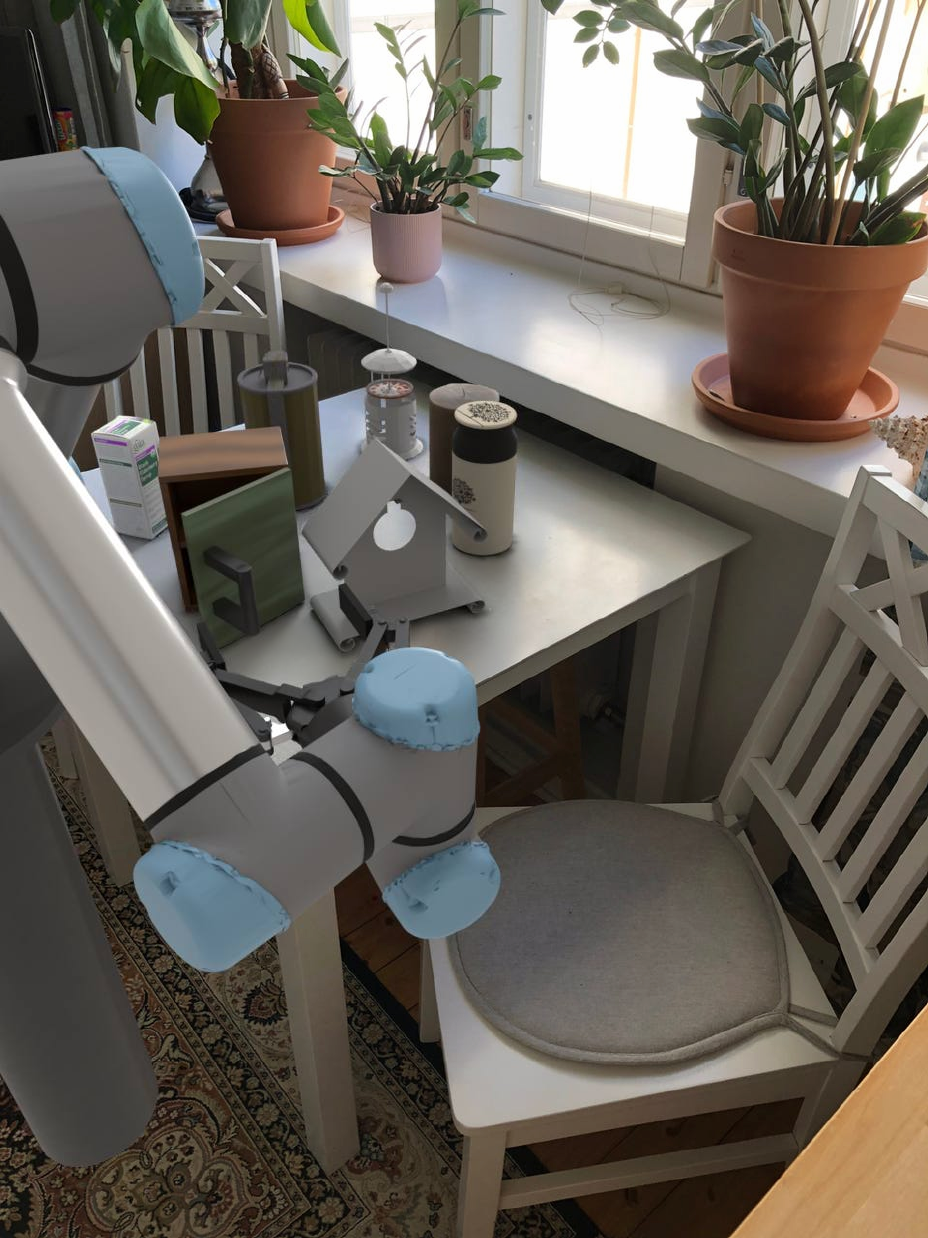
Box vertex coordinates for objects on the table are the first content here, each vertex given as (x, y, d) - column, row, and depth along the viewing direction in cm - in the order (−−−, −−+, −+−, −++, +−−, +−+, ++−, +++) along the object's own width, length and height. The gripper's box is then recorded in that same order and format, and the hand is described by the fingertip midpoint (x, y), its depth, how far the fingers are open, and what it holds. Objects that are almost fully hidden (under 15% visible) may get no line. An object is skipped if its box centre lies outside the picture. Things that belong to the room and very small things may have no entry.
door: (341, 621, 107) (331, 487, 96) (248, 678, 98) (225, 538, 88) (300, 598, 110) (286, 466, 100) (206, 650, 102) (180, 513, 92)
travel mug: (494, 520, 126) (499, 395, 115) (523, 548, 120) (531, 419, 110) (441, 533, 123) (441, 405, 112) (468, 563, 117) (471, 431, 107)
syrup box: (152, 541, 121) (130, 438, 112) (114, 532, 122) (89, 430, 114) (177, 520, 125) (157, 419, 116) (139, 512, 127) (117, 413, 118)
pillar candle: (450, 508, 129) (451, 406, 120) (417, 479, 135) (415, 381, 127) (509, 491, 133) (514, 392, 124) (474, 464, 139) (476, 368, 131)
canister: (255, 477, 135) (237, 343, 123) (327, 475, 136) (316, 341, 124) (250, 515, 126) (230, 374, 115) (326, 511, 127) (315, 371, 116)
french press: (370, 465, 139) (361, 296, 124) (349, 434, 148) (339, 272, 133) (432, 455, 142) (430, 289, 127) (408, 425, 150) (404, 266, 136)
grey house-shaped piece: (339, 653, 102) (325, 492, 90) (309, 609, 109) (293, 453, 97) (485, 610, 109) (490, 455, 97) (449, 571, 116) (450, 421, 104)
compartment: (302, 597, 111) (288, 464, 100) (185, 612, 108) (157, 476, 98) (294, 553, 119) (279, 426, 108) (184, 566, 116) (159, 436, 105)
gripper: (212, 850, 69) (146, 684, 84) (502, 742, 78) (397, 611, 93) (196, 779, 64) (130, 617, 79) (506, 674, 74) (395, 548, 89)
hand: (274, 614), depth 86 cm, fingers open, 13 cm apart
